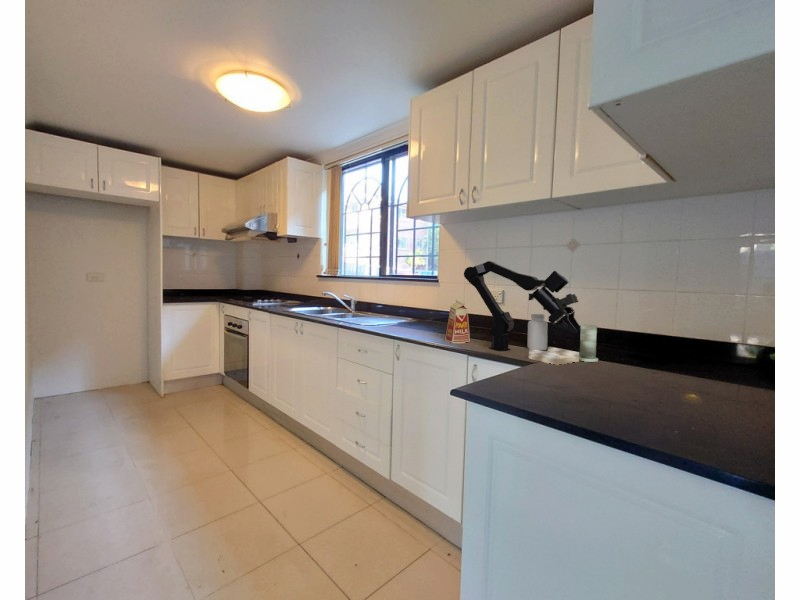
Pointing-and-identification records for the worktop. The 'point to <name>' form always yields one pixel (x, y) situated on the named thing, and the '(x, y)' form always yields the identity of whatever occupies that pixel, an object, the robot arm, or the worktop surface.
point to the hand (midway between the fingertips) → (578, 331)
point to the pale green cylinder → (588, 343)
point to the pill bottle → (537, 332)
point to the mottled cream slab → (554, 356)
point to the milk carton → (458, 324)
